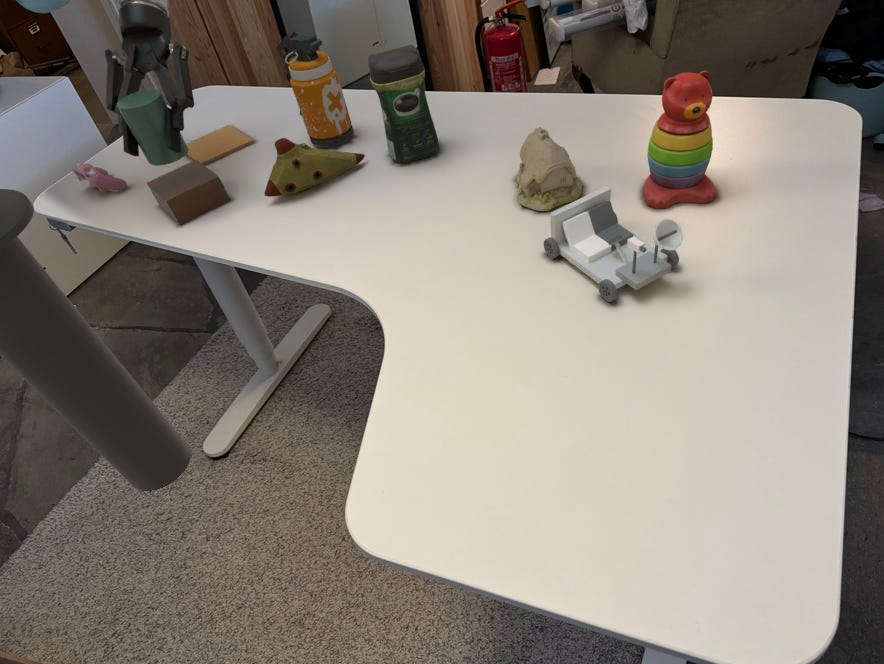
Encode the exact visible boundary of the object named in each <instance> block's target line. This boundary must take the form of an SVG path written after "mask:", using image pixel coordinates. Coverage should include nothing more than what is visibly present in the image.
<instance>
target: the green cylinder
mask: <svg viewBox="0 0 884 664" xmlns="http://www.w3.org/2000/svg"><path fill="white" fill-rule="evenodd" d="M166 103H167V102H166V100H165V99H164V97H163V94H162V92H161V91H160V90H159V89H152V88H151V89H141V90H139V91H138V92H134V93H132V94H129V95H127V96H125V97H123V98H122V99H120V100H119V101H118V102H117V107H118V109H119V111H120V112H121V114H122V116H123V118H124V120H125V121H126V123H127V125H128V127H129V128H130V130H131V132H132V134H133V136H134V137H135V139H136V141H137V143H138V146H139V149H140V150H141V152H142V154H143V155H144V158H145V159H146V161H147V162H148V164H149V165H152V166H156V167H157V166H158V167H159V166H166V165H170V164H172V163H173V164H174V163H175V162H177V161H180V160H182V158H184V157H186V156H187V155H186V154H187V153H188V150H189V149H188V147H187V145H186V143H187V142H186V141H185V139H184V136H183V135H182V133H181V132H180V139H181V153H176V152H174V151H172V150H170V149H168V148H167V139H166V121H165V108H169V106H168V105H167V104H166Z"/></svg>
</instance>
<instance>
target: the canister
mask: <svg viewBox="0 0 884 664" xmlns="http://www.w3.org/2000/svg"><path fill="white" fill-rule="evenodd" d="M322 45H323V41H322V40H321V39H319V38H318V39H317V36H316V35H314V34H312V35H305V34H298V33H297V32H296V31H293V32H292V34H290V36H289V37H288V36H287V35H285V36H284V37H283V38H282V40H281V41H280V42H279V44H278V45H277V46H276V48H275V50H276V51H277V54H279V57H280V58H281V60H282V63H283V65H284V69H285V72H286V75H287V77H288V80H289V83H290V85H291V88H292V92H293V94H294V98H295V100H296V103H297V107H298V109H299V116H301V118H302V120H303V123H304V126H305V129H306V132H307V134H308V137H309V141H310V143H311V144H312V145H314V146H316V147H321V148H329V147H335V146H338V145H339V146H340V144H343V143H345V142H346V141H348V140H349V139H351V138H352V137H353V135H354V133H355V131H354V126H353V124H352V120H351V117H350V113H349V109H348V106H347V102H346V99H345V97H344V92H343V89H342V85H341V81H340V78H339V74H338V72H337V69H336V68H335V67H333V65H332V61H331V58H330V56H328V54H327V53H326V52H325V51H322V50H319V48H320V47H321V46H322ZM284 49H286V50H287V51H286V53H283V51H284Z"/></svg>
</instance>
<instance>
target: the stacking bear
mask: <svg viewBox="0 0 884 664" xmlns="http://www.w3.org/2000/svg"><path fill="white" fill-rule="evenodd" d="M710 80H711V73H710V72H709V71H708V70H701V71H700V72H699V73H696V72H687V71H686V72H681V73H679V74H677V75H675V76H671V77H668V78H667V79H665V81H664V82H663V90H662V94H661V104H662V108H663V112H662V113H661V115H660V116H659V118H658V119H657V120H656V122H655V123H654V124H653V128H652V131H651V134H650V135H651V136H650V137H649V141H648V147H647V163H648V167H649V174H648V176H647V178H646V179H645V182H644V185H643V189H642V190H643V191H642V196H643V199H644V202H645V204H646V205H647V206H649V207H652V208H655V209H664V208H668V207H671V206H672V205H674V204H677V203H684V202H685V203H686V202H689V203H695V204H705V203H711V202H713V200H715V199H716V197H717V188H716V186H715V184H714V183H713V181H712V179H710V177H708V175H707V174H706V172H707V169H708V166H709V164H710V161H711V158H712V155H713V154H712V153H713V150H714V149H713V147H714V139H713V129H712V124H711V119H710V115H709V114H708V113H707V112H708V111H709V110H710V107H711V105H712V101H713V89H712V86H711V84H710Z"/></svg>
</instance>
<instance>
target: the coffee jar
mask: <svg viewBox="0 0 884 664" xmlns="http://www.w3.org/2000/svg"><path fill="white" fill-rule="evenodd" d="M420 55H421V54H420V52H419V50H418V48H416V47H415V45H413V44H408V45H405V46H400V47H397V48H392V49H388V50H385V51H381V52H377V53H372V54H370V55H368V57H367V61H368V62H367V63H368V70H369V80H370V83H371V85H372V87H373V89H374V90H375V92H376V95H377V97H378V101H379V105H380V109H381V113H382V119H383V124H384V132H385V133H384V134H385V139H386V144H387V150H388V153H389V156H390V158H391V159H392V160H394V161H395V162H397V163H402V164H403V163H410V162H414V161H417V160H420V159H423V158H426V157H430V156H433V155H434V154H436V153H437V151H438V150H439V149H440V142H439V137H438V134H437V133H438V132H437V130H436V127H435V123H434V119H433V117H432V114H431V110H430V107H429V103H428V100H427V95H426V89H425V79H426V70H425V67H424V64H423V61H422V58H421V56H420Z"/></svg>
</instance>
